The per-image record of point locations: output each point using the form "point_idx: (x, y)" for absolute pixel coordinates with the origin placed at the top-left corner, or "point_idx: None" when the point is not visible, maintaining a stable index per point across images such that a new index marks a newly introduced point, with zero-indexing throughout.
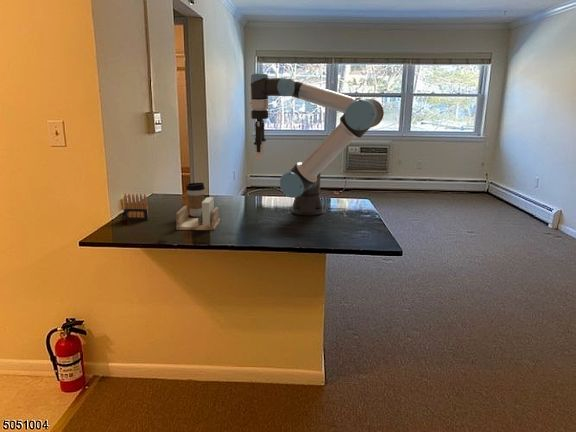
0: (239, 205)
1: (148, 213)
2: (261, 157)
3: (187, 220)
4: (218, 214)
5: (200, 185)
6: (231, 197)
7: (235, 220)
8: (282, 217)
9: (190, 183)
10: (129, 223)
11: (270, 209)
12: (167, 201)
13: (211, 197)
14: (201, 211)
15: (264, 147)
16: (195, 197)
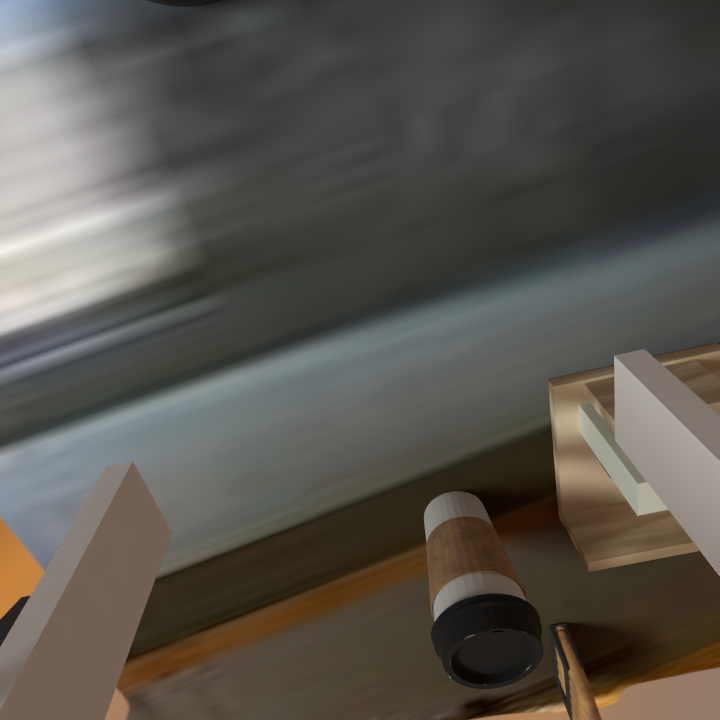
0: (198, 410)
1: (561, 647)
2: (662, 373)
3: (605, 499)
4: (597, 398)
5: (522, 625)
6: (39, 513)
7: (527, 313)
8: (403, 32)
9: (469, 683)
10: (616, 646)
11: (214, 196)
12: (261, 689)
13: (641, 492)
14: (471, 505)
15: (45, 582)
16: (519, 580)
